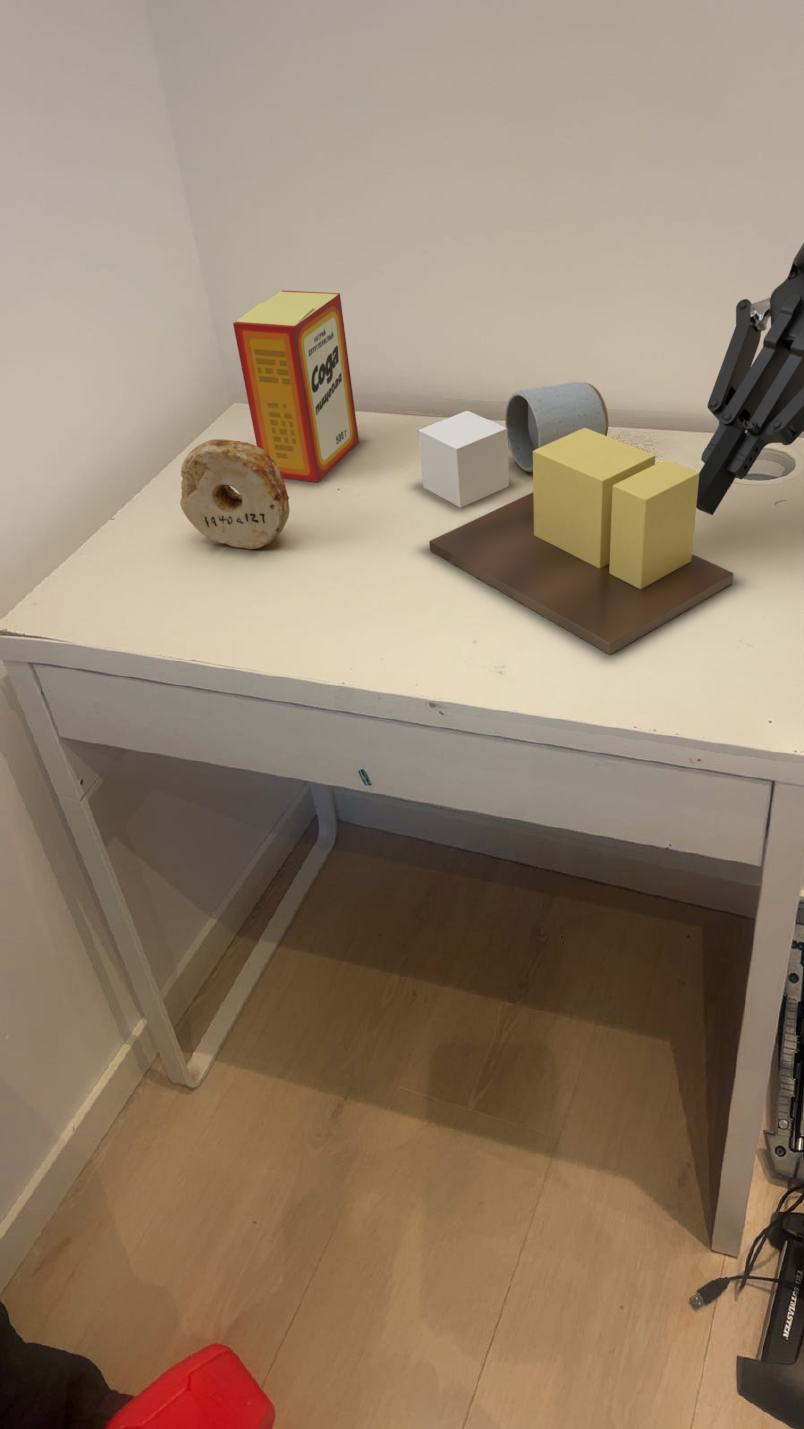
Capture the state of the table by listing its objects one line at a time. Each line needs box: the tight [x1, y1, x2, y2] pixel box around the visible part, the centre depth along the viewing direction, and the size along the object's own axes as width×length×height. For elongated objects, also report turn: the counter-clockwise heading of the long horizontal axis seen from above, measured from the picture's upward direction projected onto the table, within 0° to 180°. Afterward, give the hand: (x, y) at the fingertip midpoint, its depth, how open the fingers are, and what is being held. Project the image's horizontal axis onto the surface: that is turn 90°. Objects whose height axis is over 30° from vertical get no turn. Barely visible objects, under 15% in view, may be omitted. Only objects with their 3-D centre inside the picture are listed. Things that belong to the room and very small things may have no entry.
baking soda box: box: [232, 289, 360, 483], centre depth 104 cm, size 10×6×16 cm
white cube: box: [417, 410, 510, 509], centre depth 99 cm, size 6×6×6 cm
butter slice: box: [609, 459, 700, 589], centre depth 83 cm, size 4×6×8 cm, turn 127°
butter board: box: [429, 492, 735, 655], centre depth 88 cm, size 22×14×1 cm, turn 37°
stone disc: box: [179, 438, 291, 550], centre depth 94 cm, size 10×4×10 cm, turn 69°
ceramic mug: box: [504, 381, 609, 473], centre depth 103 cm, size 11×8×8 cm
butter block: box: [532, 428, 656, 569], centre depth 87 cm, size 8×6×8 cm
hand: (698, 505), depth 85 cm, fingers closed
